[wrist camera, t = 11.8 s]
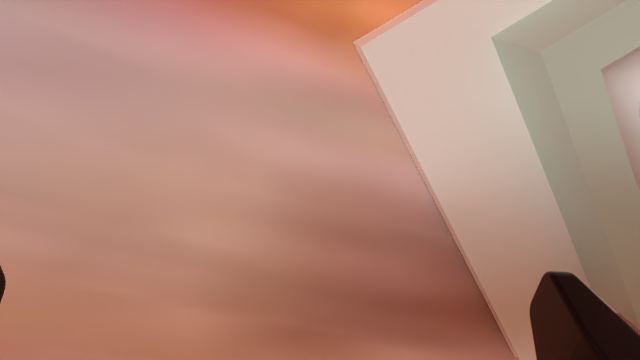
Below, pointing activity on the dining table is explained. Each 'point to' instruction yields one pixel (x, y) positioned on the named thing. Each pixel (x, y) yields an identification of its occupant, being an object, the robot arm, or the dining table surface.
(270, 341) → the dining table surface
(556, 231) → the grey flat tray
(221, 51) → the dining table surface
